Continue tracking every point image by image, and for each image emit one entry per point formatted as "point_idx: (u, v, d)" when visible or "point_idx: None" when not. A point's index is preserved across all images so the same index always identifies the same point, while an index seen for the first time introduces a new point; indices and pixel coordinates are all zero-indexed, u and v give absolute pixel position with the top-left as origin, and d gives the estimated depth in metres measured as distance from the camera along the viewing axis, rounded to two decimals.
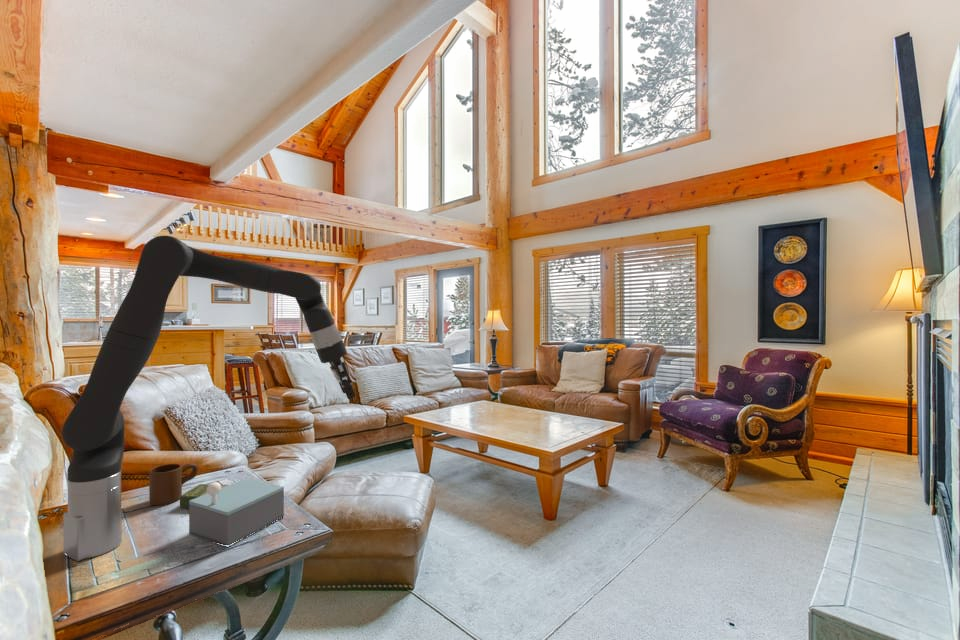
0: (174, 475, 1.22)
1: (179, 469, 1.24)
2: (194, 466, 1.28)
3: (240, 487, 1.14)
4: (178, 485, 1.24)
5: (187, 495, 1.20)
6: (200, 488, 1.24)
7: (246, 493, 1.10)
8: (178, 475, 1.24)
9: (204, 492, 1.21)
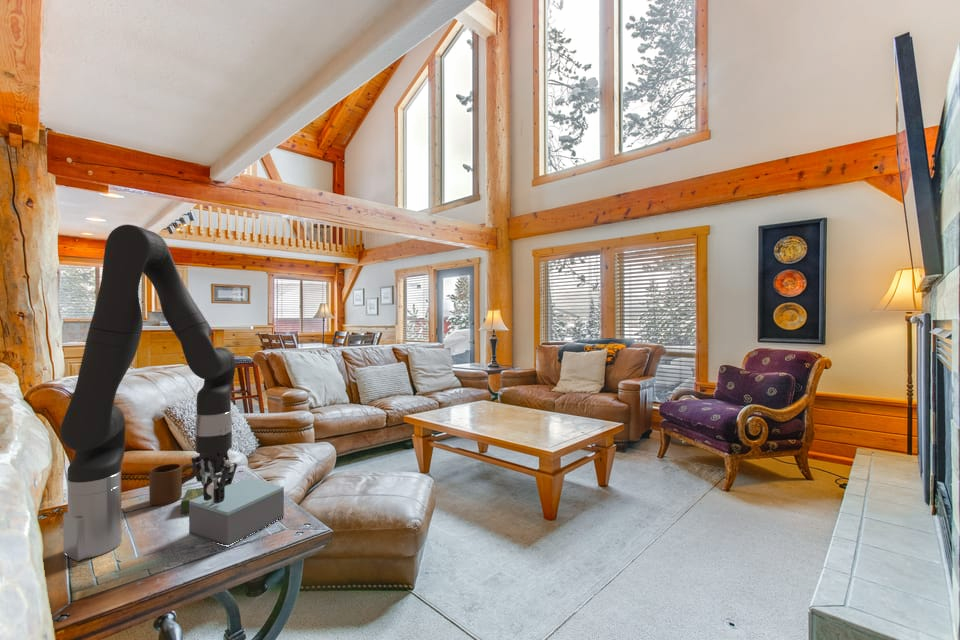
0: (174, 475, 1.22)
1: (179, 469, 1.24)
2: None
3: (240, 487, 1.14)
4: (178, 485, 1.24)
5: (188, 499, 1.17)
6: (193, 492, 1.21)
7: (246, 493, 1.10)
8: (178, 475, 1.24)
9: None
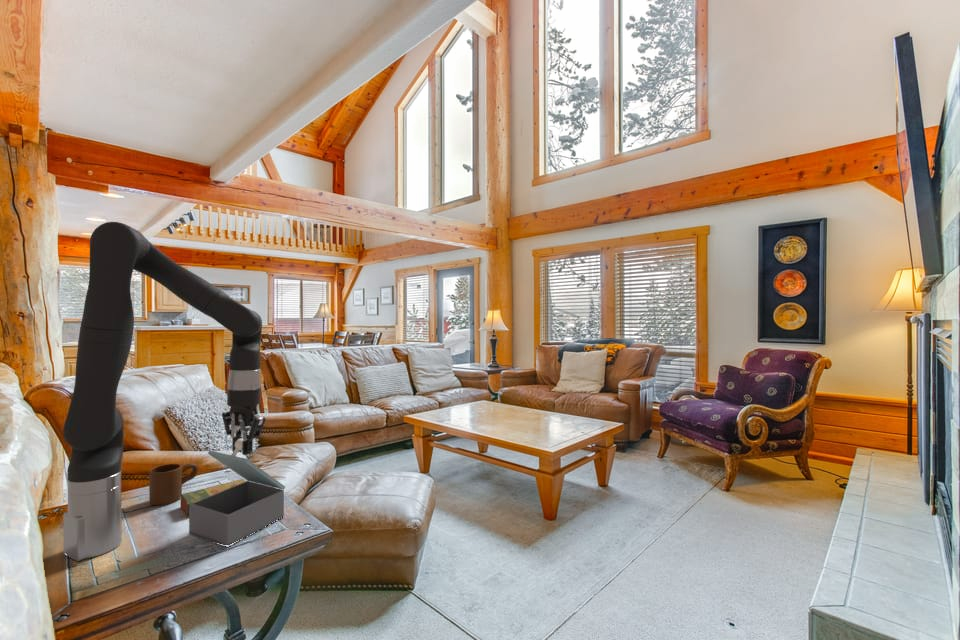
0: (174, 475, 1.22)
1: (179, 469, 1.24)
2: (194, 466, 1.28)
3: None
4: (178, 485, 1.24)
5: (194, 501, 1.16)
6: (192, 495, 1.19)
7: None
8: (178, 475, 1.24)
9: (209, 494, 1.20)
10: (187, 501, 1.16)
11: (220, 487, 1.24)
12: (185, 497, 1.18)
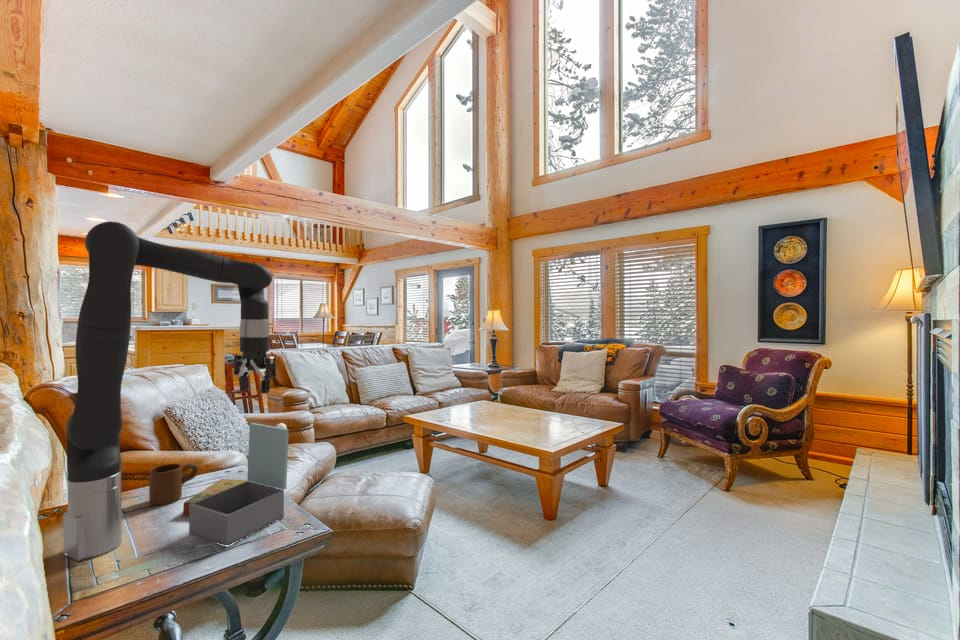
0: (173, 475, 1.22)
1: (179, 469, 1.24)
2: (194, 466, 1.28)
3: None
4: (178, 485, 1.24)
5: None
6: (199, 499, 1.17)
7: None
8: (178, 475, 1.24)
9: None
10: None
11: (215, 488, 1.24)
12: None
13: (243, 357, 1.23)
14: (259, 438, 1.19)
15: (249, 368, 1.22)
